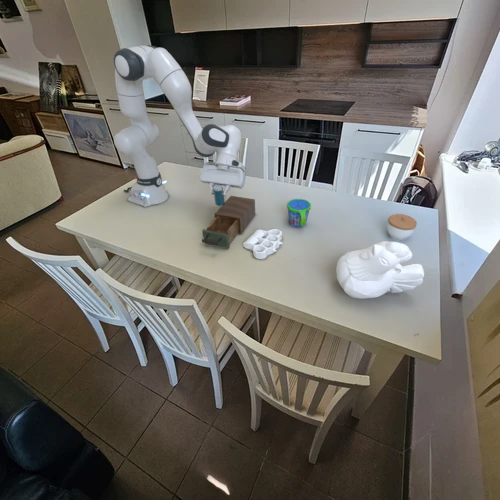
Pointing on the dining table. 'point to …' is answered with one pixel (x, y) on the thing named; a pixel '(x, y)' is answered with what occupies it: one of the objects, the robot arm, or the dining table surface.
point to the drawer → (221, 232)
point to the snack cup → (298, 211)
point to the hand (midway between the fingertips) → (218, 194)
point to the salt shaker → (218, 195)
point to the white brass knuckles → (264, 242)
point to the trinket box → (400, 226)
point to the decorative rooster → (378, 271)
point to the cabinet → (238, 210)
